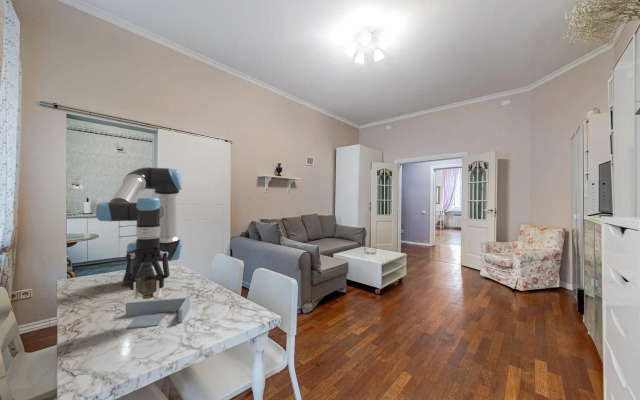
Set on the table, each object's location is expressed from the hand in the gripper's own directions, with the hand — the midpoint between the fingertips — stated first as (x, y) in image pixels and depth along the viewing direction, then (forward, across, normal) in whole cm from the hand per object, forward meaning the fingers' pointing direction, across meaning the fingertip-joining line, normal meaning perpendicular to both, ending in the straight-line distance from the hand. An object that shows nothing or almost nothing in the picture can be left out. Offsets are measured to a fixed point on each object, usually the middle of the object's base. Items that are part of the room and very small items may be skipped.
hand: (147, 297), depth 96 cm
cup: (0, 0, 0) cm, 0 cm away
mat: (+9, 0, 0) cm, 9 cm away
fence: (+9, +1, +2) cm, 10 cm away
